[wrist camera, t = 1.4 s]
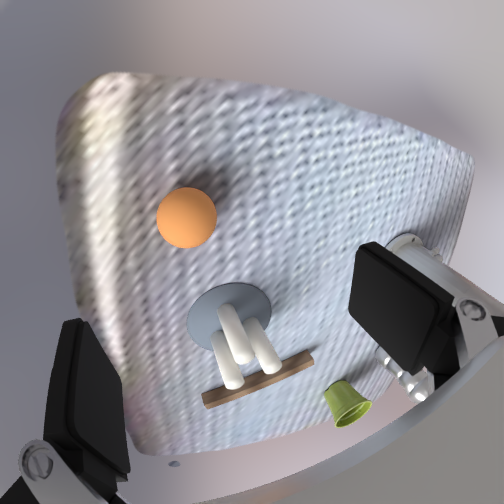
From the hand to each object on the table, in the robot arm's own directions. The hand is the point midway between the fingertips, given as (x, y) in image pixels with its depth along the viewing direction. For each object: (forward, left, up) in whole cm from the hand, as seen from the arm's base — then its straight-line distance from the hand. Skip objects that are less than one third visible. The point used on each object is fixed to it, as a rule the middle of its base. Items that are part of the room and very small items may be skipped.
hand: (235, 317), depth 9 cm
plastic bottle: (-27, +47, -23) cm, 59 cm away
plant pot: (-14, +53, -23) cm, 60 cm away
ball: (+1, +3, -20) cm, 20 cm away
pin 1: (+3, +22, -23) cm, 32 cm away
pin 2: (-2, +22, -23) cm, 32 cm away
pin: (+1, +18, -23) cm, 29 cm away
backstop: (+1, +35, -23) cm, 42 cm away
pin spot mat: (+1, +20, -23) cm, 31 cm away
